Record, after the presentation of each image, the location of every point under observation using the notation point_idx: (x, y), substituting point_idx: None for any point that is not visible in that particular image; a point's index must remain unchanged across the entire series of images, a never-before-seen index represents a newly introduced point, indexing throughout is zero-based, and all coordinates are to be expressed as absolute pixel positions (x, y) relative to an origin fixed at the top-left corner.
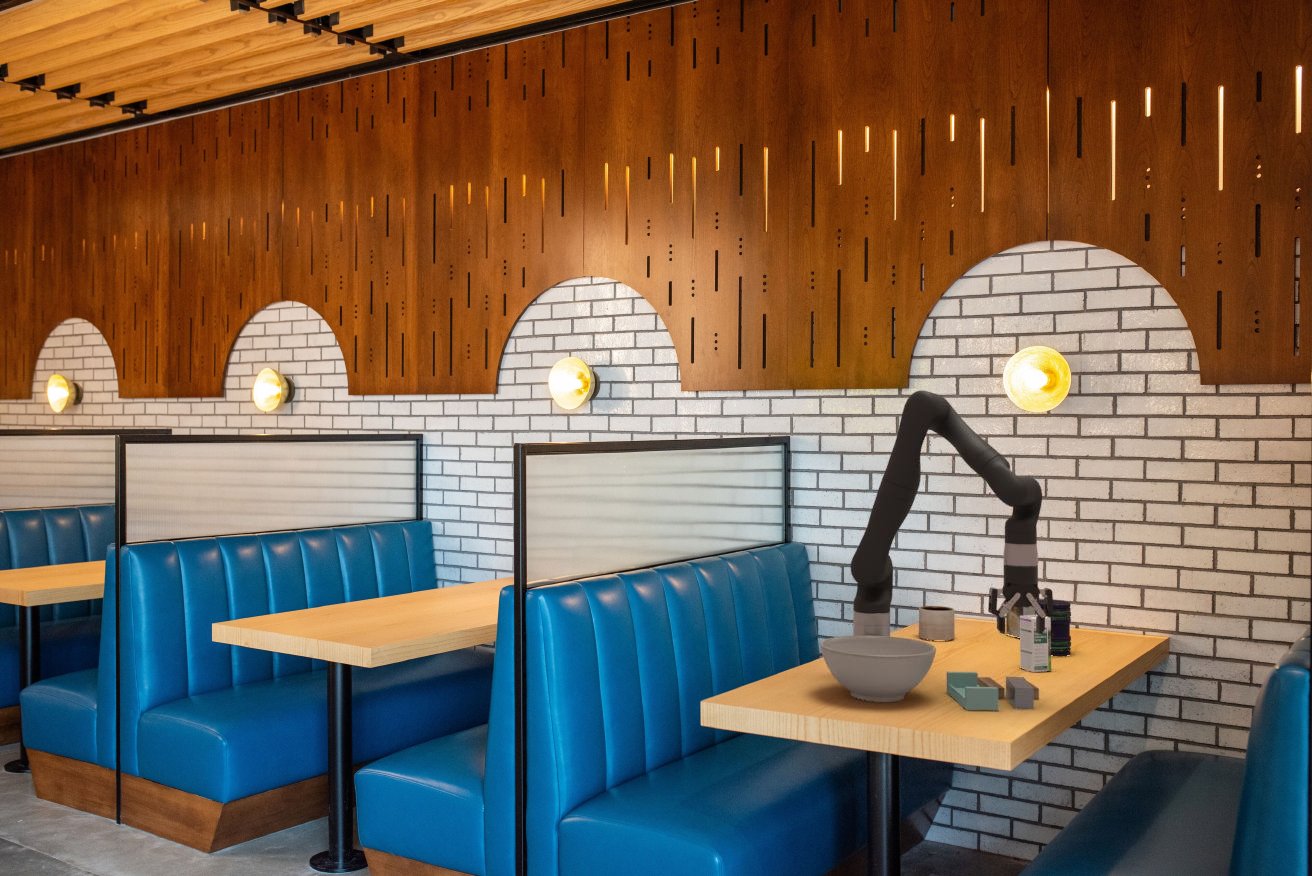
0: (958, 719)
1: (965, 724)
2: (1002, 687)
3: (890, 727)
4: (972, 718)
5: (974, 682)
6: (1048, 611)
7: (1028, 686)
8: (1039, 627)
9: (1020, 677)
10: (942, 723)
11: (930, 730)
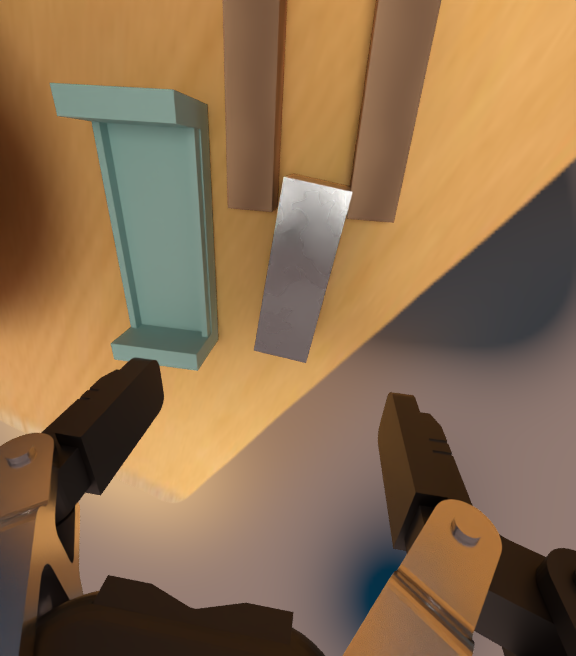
0: None
1: None
2: (267, 201)
3: (11, 420)
4: None
5: (180, 126)
6: (505, 653)
7: (300, 340)
8: (382, 474)
9: (336, 198)
10: None
11: None
